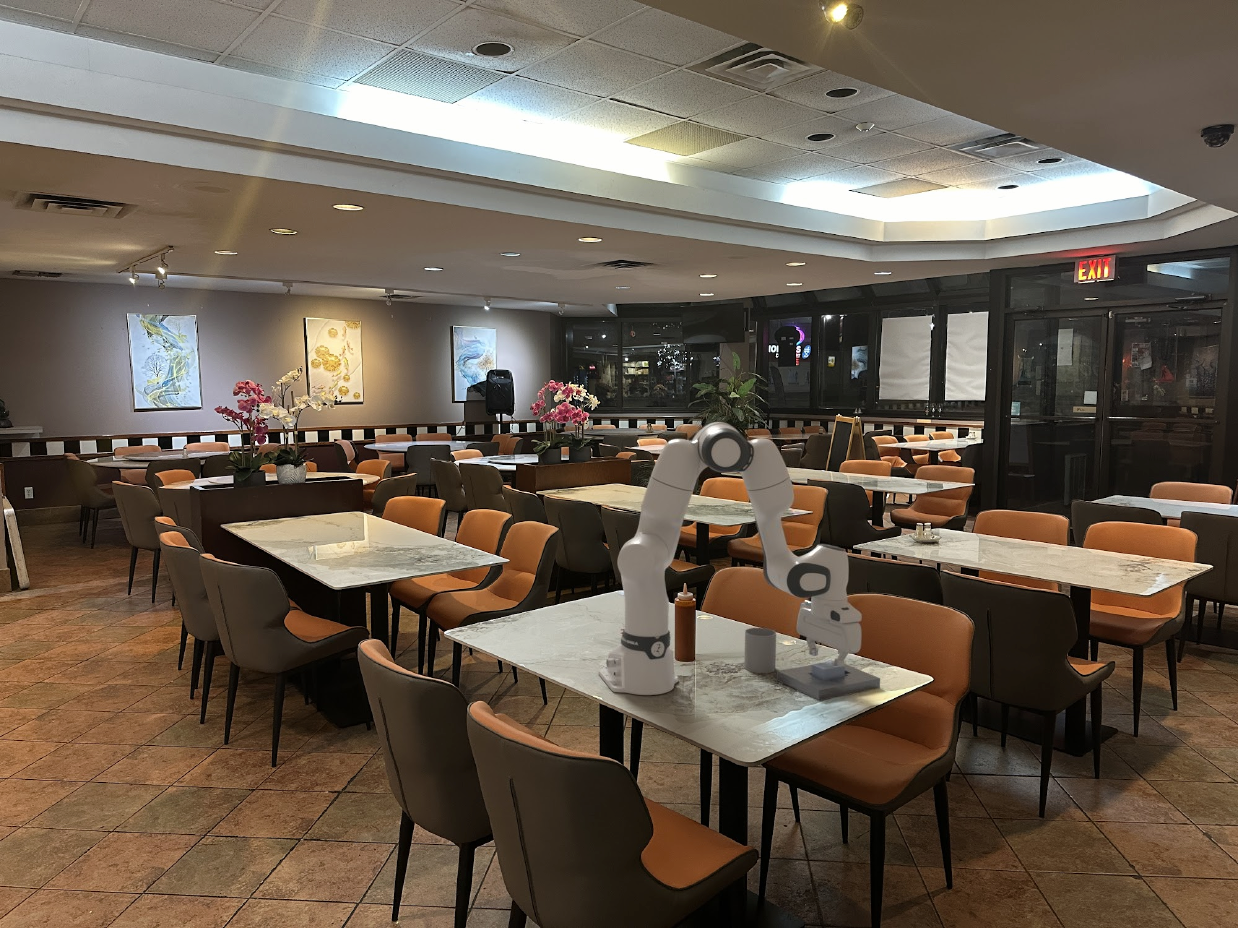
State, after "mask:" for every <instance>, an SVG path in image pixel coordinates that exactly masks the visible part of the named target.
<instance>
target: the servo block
mask: <svg viewBox="0 0 1238 928" xmlns="http://www.w3.org/2000/svg"><path fill="white" fill-rule="evenodd" d="M835 659H836V658H833V659H832V658H831V660H829V661H824V662H819V663H813V664H812V663H811V665H812V676H814V677H817V678H819V679H821V680H823V681H824V680H829V679H834V678H840V677H845V666H843V667H838V666H835V664H834V663H835Z"/></svg>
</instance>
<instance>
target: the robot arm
mask: <svg viewBox="0 0 1238 928" xmlns="http://www.w3.org/2000/svg"><path fill="white" fill-rule="evenodd" d="M708 467H709V468H710V470H713V471H715V472H717V473H739V474H740V476H741V478H742V480H743V484H744V487H745V489H746V492H747V497H748V498H749V501H750V504H751V507H752V511H753V516H754V519H755V520H754V521H755V524H756V525H755V526H756V528H757V531H758V532H757V533H758V536H759V540H760V544H761V549H762V553H763V564H762V565H763V568H762V572H763V577H764V579H765V581H766V583H767V584H768V585H769V586H771V587H773V588H774V589H777V590H781V591H783V592H785V593H787V594H789V595H791V596H793V597H796V598H801V599H805V598H811V599H810V600H811V601H810V600H808V599H805V600H804V601H802V602H801V603H800V607H799V611H798V614H797V620H796V631H797V634H799V635H801V636H803V637H806V644H807V646H808V654H809V656H810V655H811V656H813V657H817V656H818V655H819V648H817V646H816V642H818V643H820V644H824V645H825V646H828V647H831V648H833V649H836V650H837V654H838V657H837V658H834V659H835V663H834V664H835V666H838V667H843V666H844V664H845V659H847V656H849V654H856V653H857V654H858V653H859V651H860V650H861V647H862V627H861V624H860V623H859V622H861V621H862V619H863V618H862V616H863V615H862V613H861V612H860V611H859V610H858V609H856V608H855V607H854V606H852V604H851V603H850V602H848V594H847V586H848V583H849V557H848V553H847V552H846V551H845V549H843V548H841V547H839V546H836V545H831V544H827V543H819V544H817V545H816V547H815V548H813V549H812V550H811V551H809V552H808V553H805V554H803V555H800V556H797V555H795V554H794V553H793V552H792V550H790V549H789V547H788V544H787V541H786V536H785V531H784V528H783V524H782V516H783V515H784V514H785V513H787V512H788V511H789V509H790V508H791V507H792V505H793V503H794V501H795V495H794V488H793V487H794V486H793V484H792V483H793V482H792V480H791V477H790V474H789V471H788V468H787V466H786V463H785V460H784V458H783V455H781V452H780V450H779V449H778V447H777V445H776V444H775V443H774V442H773V441H772V440H771V439H768V438H763V437H759V438H754V439H751V440H747V439H746V438H745V437H744V436H743V435H742V434H741V433H740V432H739V431H738V430H737V429H736V428H735V427H734V426H732V425H731V424H729V423H727V422H725V421H721V420H713V421H709V422H707V423H705V424H704V425H702V426H701V427H700V428H699V429H698V430H697V431H696V432H695V433H694V434H692V436H690V437H689V438H688V439H684V438H674V439H670V440H669V441H667V443H666V444H665V445H664V447H663V448H662V450H661V452H660V454H659V456H658V458H657V460H656V462H655V465H654V466H653V470H652V471H651V475H650V478H649V481H648V484H647V486H646V489H645V492H644V496H643V499H642V502H641V504H640V516H639V522H638V527H637V530H636V533H635V534H634V537H632V538H631V539H629V540H628V541H626V542H625V543H624V544H623V546H622V547H621V549H620V551H619V553H618V556H617V568H618V571H619V573H620V576H621V583H622V589H623V596H624V628H623V629H620V631H621V632H620V634H621V639H620V643H619V644H618V645H617V646H615V647H614V648H613V649H612V650H611V651H610V652H609V653H608V656H607V659H606V663H605V664H606V666H605V667H603V668H600V669H598V675H599V676H600V678H601V679H602V680H603V682H605V684H606V685H607V686H608V687H609V689H610V690H611V691H612V692H614V693H627V694H632V695H639V696H652V695H662V694H666V693H668V692H670V691H672V690H673V689H674V687H675V684H677V683H678V682H679V676H677V675H675V674H676V673H675V660H674V659H675V658H674V651H673V650H672V649H671V648H670V646H671V632H670V631H671V630H669V622H670V621H669V618H670V617H669V613H670V601H669V597H668V594H667V589H666V588H667V587H666V581H665V573H666V572H665V571H666V569H668V568H669V567H670V565H671V564H672V563H673V561H674V558H675V555H676V554H675V553H676V551H677V547H678V545H679V540H680V536H681V531H682V526H683V522H684V519H685V516H686V512H687V510H688V507H689V504H690V500H691V498H692V495H693V492H694V490H695V487H696V483H697V480H698V478H699V476H700V474H701V473H702V472H703V471H704V470H705V469H706V468H708Z"/></svg>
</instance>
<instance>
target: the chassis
mask: <svg viewBox="0 0 1238 928" xmlns="http://www.w3.org/2000/svg"><path fill="white" fill-rule="evenodd" d="M844 666H845V677H840V678H834V679H829V680H824V681H823V680H821V679H819V678H817V677H814V676H812V664H809V665H803V666H796V667H791V668H786V669H785V668H784V669H779V670H777V674H776V680H777V681H778V682H780V683H782V684H783V685H784V684H785V685H786V686H789V687H790V688H793V689H795V690H797V692H798V691H799V692H801V693H802V694H805V695H807V696H809V697H811V698H813V699H815V700H817V701H822V700H829V699H833V698H837V697H841V696H847V695H852V694H857V693H862V692H866V691H871V690H876V689H880V688H881V677H878V676H875V675H873V674H870V673H868V672H866V671H863V670H860V669H858V668H856V667H855V666H854V667H853V666H851V665H848V664H847V663H844Z"/></svg>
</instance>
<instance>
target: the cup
mask: <svg viewBox="0 0 1238 928" xmlns="http://www.w3.org/2000/svg"><path fill="white" fill-rule="evenodd" d="M776 651H777V631H776V630H774V629H770V628H765V627H750V628H747V629H745V630H744V658H743V659H744V660H743V661H744V666H743V667H744V669H745V670H746V671H748V672H751V673H756V674H769V673H773V672H775V671H776V659H777V657H776V654H777V653H776Z"/></svg>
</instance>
